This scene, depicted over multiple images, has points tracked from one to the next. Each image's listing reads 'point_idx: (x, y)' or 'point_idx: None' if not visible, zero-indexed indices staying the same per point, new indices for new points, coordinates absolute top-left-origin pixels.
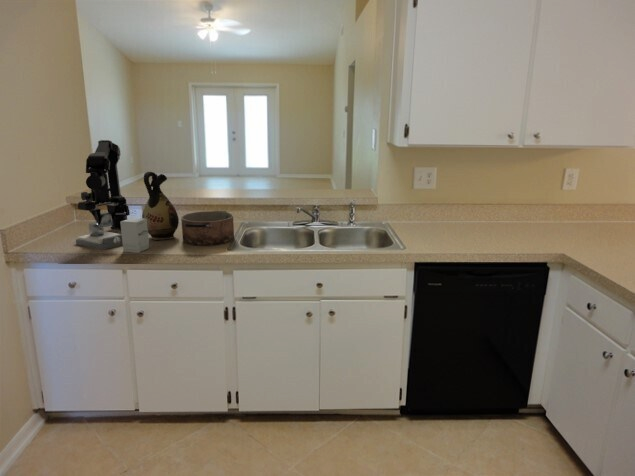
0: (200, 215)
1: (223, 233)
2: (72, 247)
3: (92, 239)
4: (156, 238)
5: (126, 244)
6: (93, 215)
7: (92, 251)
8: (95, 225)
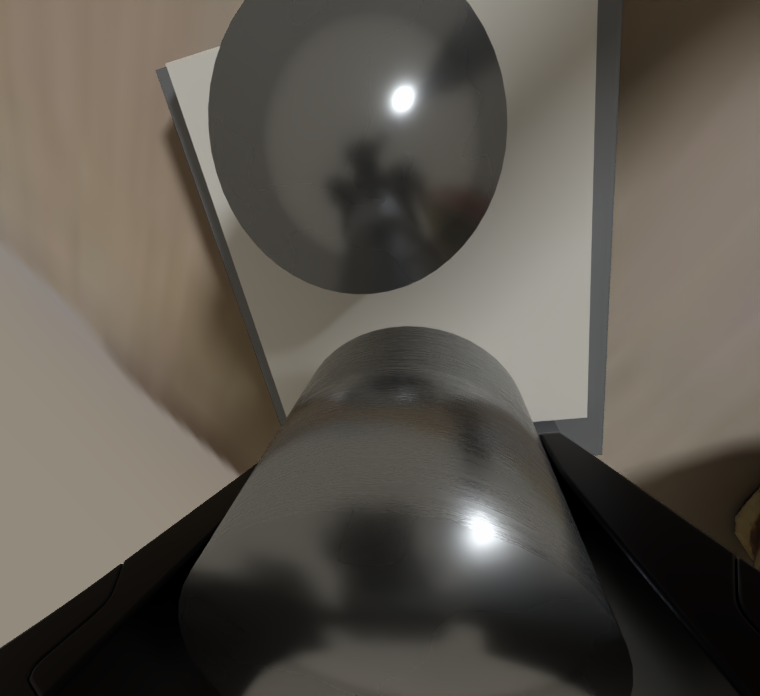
0: None
1: None
2: (144, 192)
3: (268, 331)
4: (748, 545)
5: None
6: (79, 623)
7: (247, 424)
8: (303, 277)
